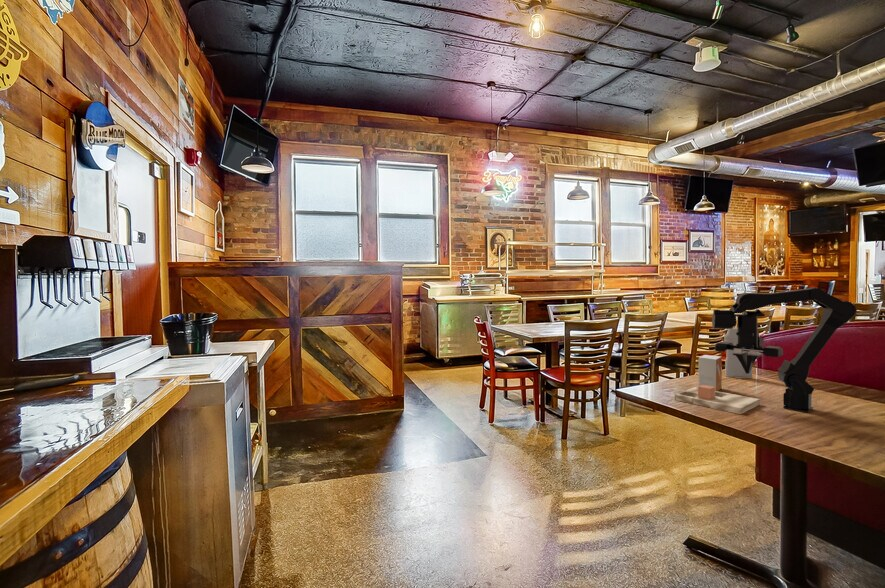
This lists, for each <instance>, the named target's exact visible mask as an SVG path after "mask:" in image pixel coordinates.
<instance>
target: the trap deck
mask: <svg viewBox="0 0 885 588" xmlns="http://www.w3.org/2000/svg"><path fill="white" fill-rule="evenodd" d="M760 400H761V399H760V398H755V397H750V396H745V395H740V394H735V393H729V392H723V391H720V390H718V391H715V398H714V399H712V400H707V399H702V398H698V386H697V387H696V386H694V387H692V388H689V389H686V390H684V391H681V392H678V393H675V394H674V401H677V402H678V401H679V402H683V403H688V404H690V405H691V404H692V405H697V406H701V407H704V408H705V407H706V408H710V409H715V410H719V411H722V412H724V411H725V412H729V413H733V414H738V415H742V414H744V413H746V412H748V411H750V410H752V409H754V408H756V407H759V406H760V405H761V401H760Z"/></svg>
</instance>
